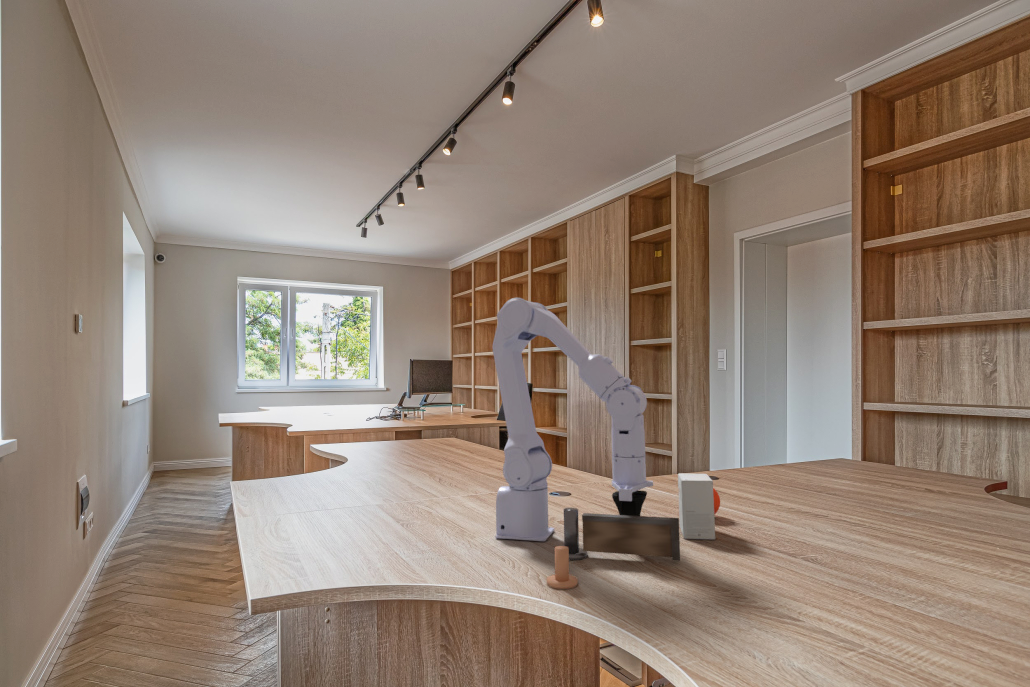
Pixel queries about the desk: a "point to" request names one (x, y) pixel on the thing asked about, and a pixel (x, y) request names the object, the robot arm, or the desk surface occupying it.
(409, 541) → the desk surface
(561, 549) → the post
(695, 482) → the small box
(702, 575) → the desk surface
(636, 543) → the gate leaf
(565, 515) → the gate post
